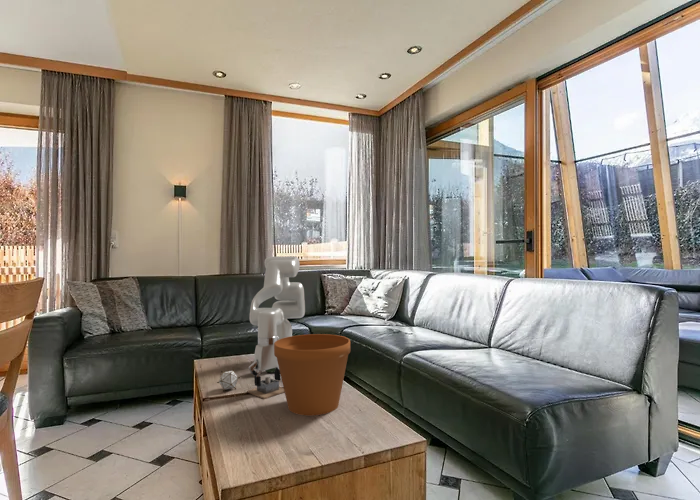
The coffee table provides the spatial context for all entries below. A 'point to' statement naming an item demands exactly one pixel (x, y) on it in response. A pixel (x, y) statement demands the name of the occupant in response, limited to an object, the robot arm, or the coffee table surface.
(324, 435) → the coffee table surface
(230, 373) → the game die
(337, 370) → the flowerpot
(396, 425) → the coffee table surface
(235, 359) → the coffee table surface
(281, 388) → the tan piece
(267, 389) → the link
